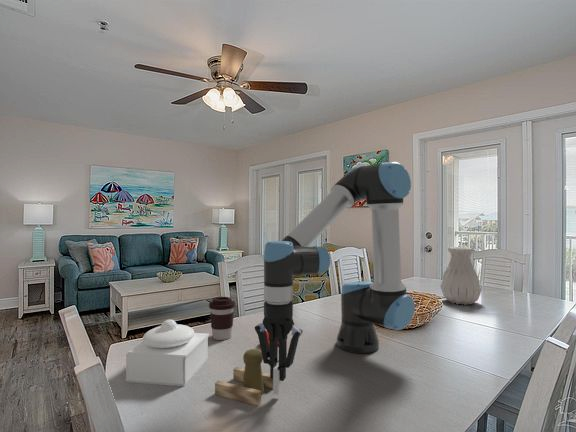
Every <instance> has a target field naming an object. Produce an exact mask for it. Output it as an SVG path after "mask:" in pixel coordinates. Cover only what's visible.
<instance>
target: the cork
mask: <svg viewBox="0 0 576 432" xmlns="http://www.w3.org/2000/svg"><path fill="white" fill-rule="evenodd" d="M262 362H263V357H262V352H261V350H259V349H256V348H255V349H254V348H251V349H248V350H246V351H245V352H244V354H243V364H245V365H244V369H245V371H244V378H243V382H242V386H243V387H247V388H252V389H256V390H260V391H261V396H263V395H264V393H265V387H264V386H263V378H262V372H263V371H262Z"/></svg>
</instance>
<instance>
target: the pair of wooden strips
mask: <svg viewBox="0 0 576 432" xmlns="http://www.w3.org/2000/svg"><path fill="white" fill-rule="evenodd" d="M244 371H245V367H244V368H243V367H237V366H235V368H233V374H232V375H233V380H234V381H239V382H242V383H243V378H244ZM262 378H263V386H264V388H269V389H273V379H271V377H270V373H266V372H263V371H262ZM214 395H215V396H219V397H222V398H223V397H224V398H226V399H231V400H234V401H239V402H243V403H247V404H250V405H254V406H260V405H261V404H262V395H261V391H260V390H256V389H252V388H247V387H243V385H239V384H234V383H229V382H227V381H226V382H225V381H222V380H217V381H216V382H215V383H214Z"/></svg>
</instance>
